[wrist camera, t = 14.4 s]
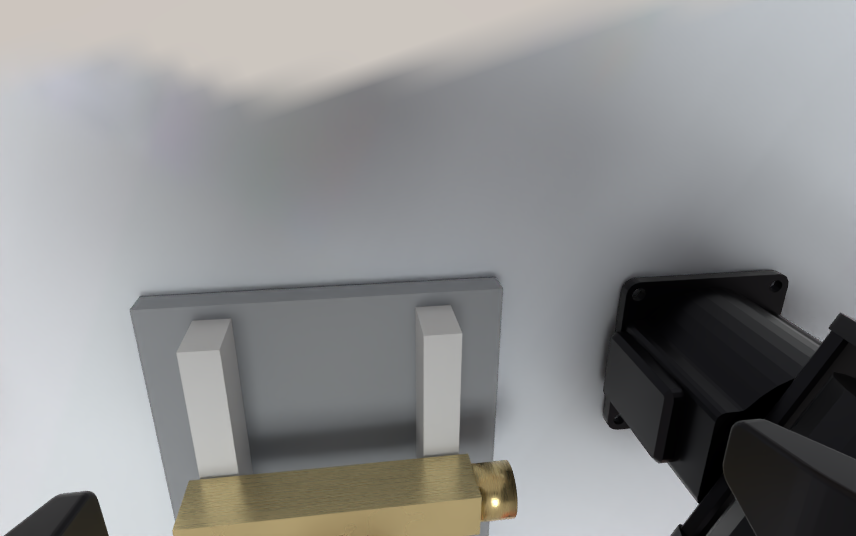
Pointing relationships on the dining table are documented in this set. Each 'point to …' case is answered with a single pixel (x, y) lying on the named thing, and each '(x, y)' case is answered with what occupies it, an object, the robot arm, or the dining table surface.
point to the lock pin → (353, 500)
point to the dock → (320, 376)
